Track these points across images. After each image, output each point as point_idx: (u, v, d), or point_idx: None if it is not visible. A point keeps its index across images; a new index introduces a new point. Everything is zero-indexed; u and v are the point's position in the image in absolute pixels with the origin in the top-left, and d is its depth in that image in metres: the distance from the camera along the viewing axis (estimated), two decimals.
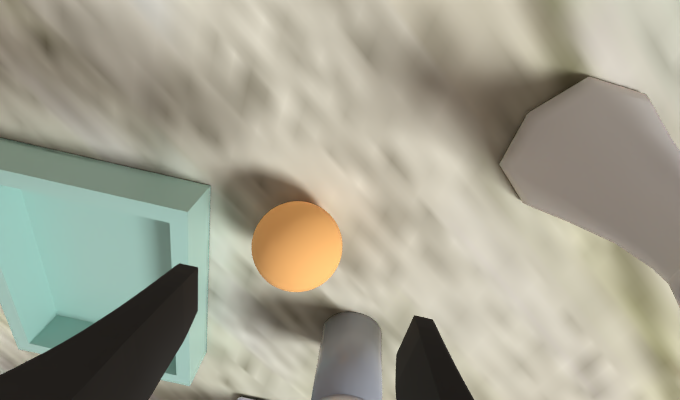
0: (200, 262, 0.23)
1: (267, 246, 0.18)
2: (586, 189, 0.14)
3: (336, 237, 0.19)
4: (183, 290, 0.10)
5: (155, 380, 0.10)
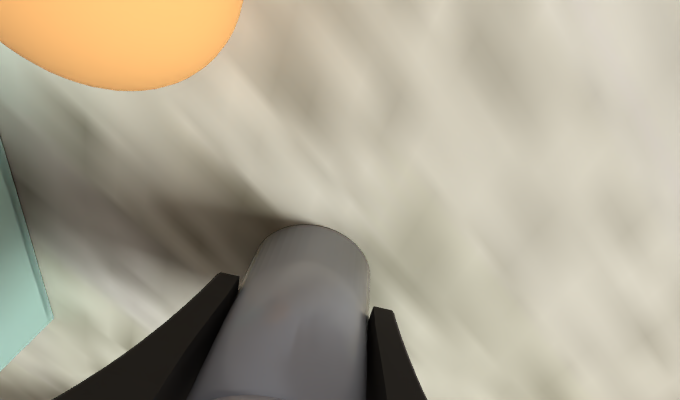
0: None
1: None
2: None
3: None
4: (227, 300, 0.10)
5: None
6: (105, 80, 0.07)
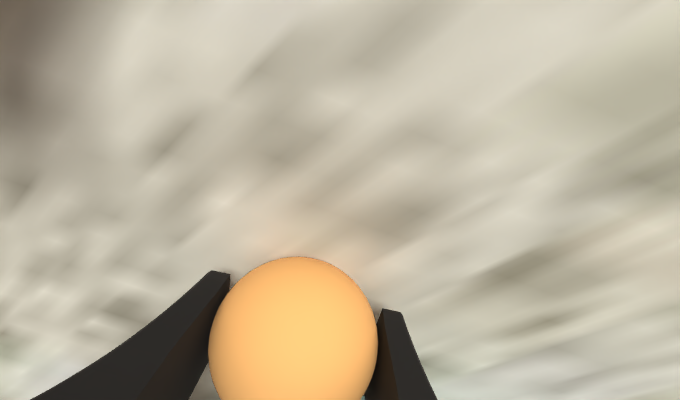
0: None
1: None
2: None
3: (248, 293, 0.10)
4: (218, 298, 0.10)
5: (191, 388, 0.10)
6: (361, 384, 0.09)
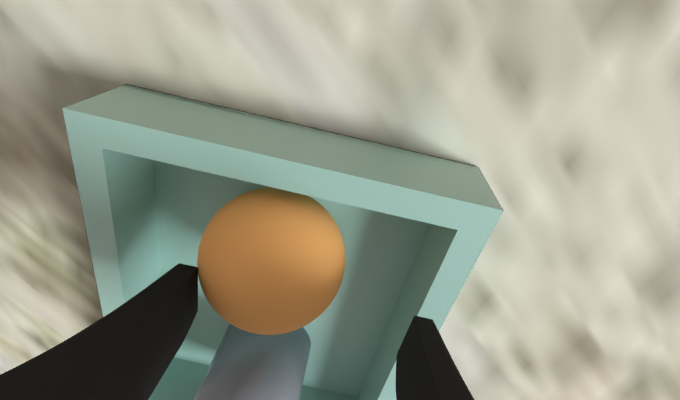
0: None
1: (223, 318, 0.12)
2: None
3: (232, 209, 0.11)
4: (183, 290, 0.10)
5: (155, 380, 0.10)
6: (328, 286, 0.11)
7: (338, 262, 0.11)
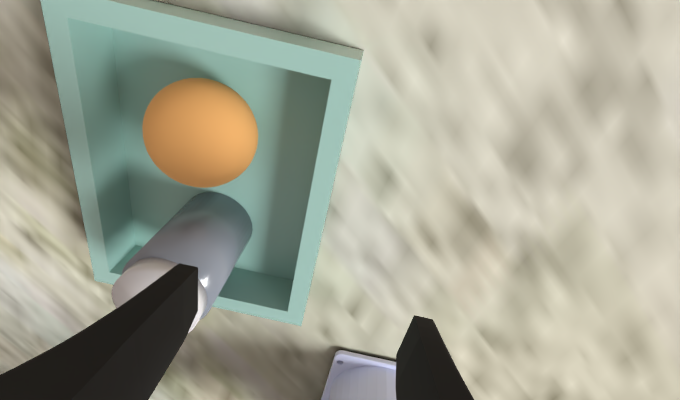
0: (339, 156, 0.18)
1: None
2: None
3: (153, 99, 0.15)
4: (183, 290, 0.10)
5: (155, 380, 0.10)
6: (233, 143, 0.15)
7: (240, 125, 0.15)
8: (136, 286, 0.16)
